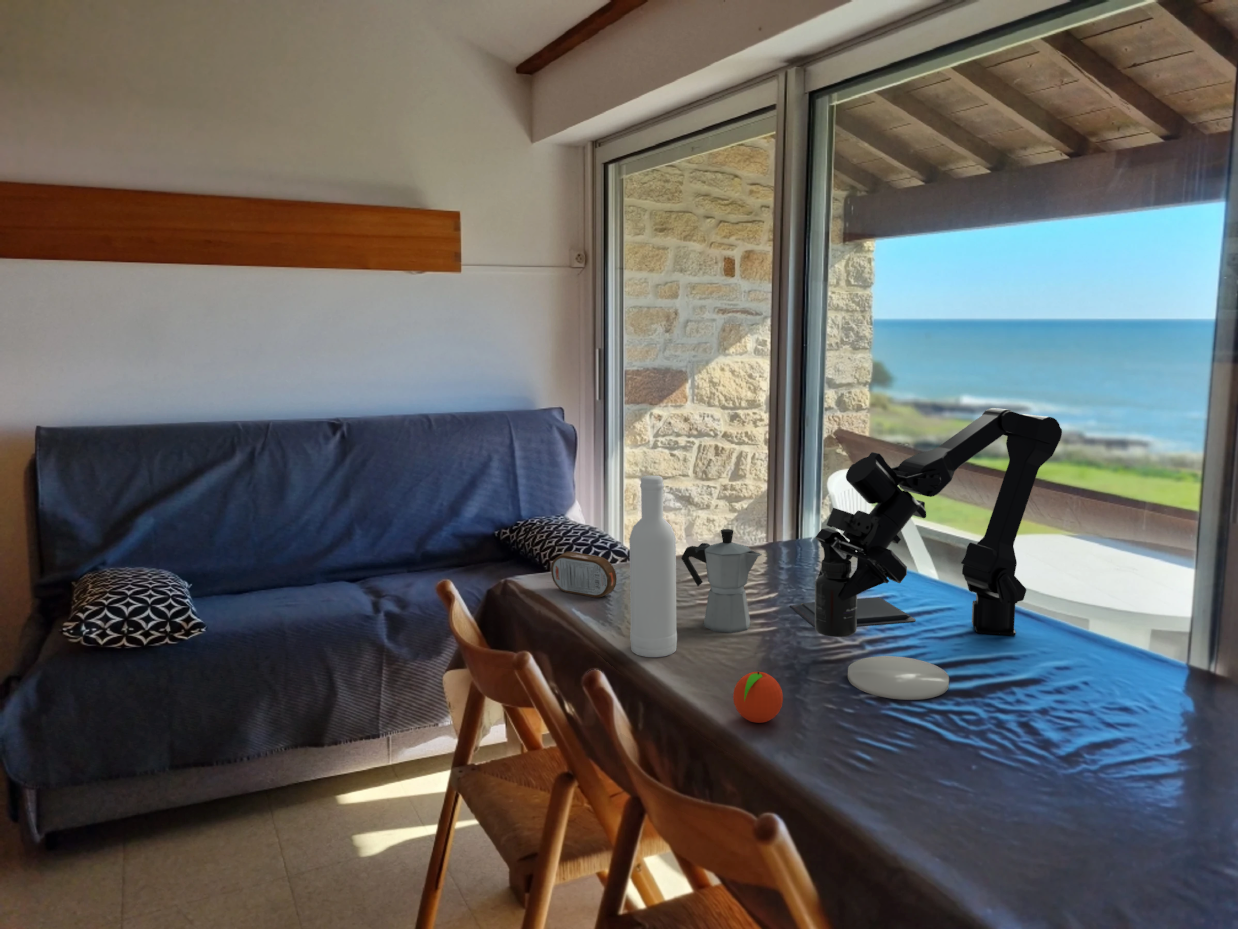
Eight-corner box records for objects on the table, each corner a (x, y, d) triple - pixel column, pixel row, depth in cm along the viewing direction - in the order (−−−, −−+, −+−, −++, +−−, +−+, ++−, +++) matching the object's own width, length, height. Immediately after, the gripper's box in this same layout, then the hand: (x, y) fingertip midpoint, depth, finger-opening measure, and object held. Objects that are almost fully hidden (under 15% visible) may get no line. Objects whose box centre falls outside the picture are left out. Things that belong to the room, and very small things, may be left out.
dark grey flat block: (816, 623, 171) (788, 599, 186) (816, 633, 171) (788, 608, 186) (920, 616, 174) (884, 592, 189) (919, 626, 174) (883, 602, 189)
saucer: (945, 667, 152) (945, 660, 151) (952, 704, 137) (952, 696, 137) (849, 660, 156) (849, 653, 155) (845, 694, 141) (846, 687, 141)
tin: (617, 597, 193) (617, 557, 192) (609, 601, 190) (608, 560, 189) (558, 587, 201) (557, 548, 200) (549, 591, 198) (548, 552, 197)
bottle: (620, 650, 162) (618, 477, 157) (651, 638, 167) (649, 471, 163) (656, 661, 156) (654, 482, 152) (686, 649, 162) (685, 476, 158)
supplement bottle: (857, 638, 153) (858, 566, 151) (814, 637, 154) (814, 565, 153) (856, 626, 160) (856, 556, 158) (814, 624, 161) (814, 555, 159)
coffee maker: (765, 621, 176) (766, 526, 174) (756, 635, 168) (757, 537, 165) (688, 614, 181) (687, 522, 179) (675, 628, 173) (675, 532, 170)
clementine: (768, 738, 127) (768, 687, 126) (721, 727, 131) (721, 678, 130) (790, 717, 134) (791, 668, 133) (745, 707, 138) (745, 660, 136)
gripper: (825, 482, 163) (769, 551, 161) (892, 500, 146) (831, 578, 144) (863, 521, 167) (809, 590, 165) (933, 544, 150) (874, 620, 148)
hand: (828, 593), depth 156 cm, fingers closed on supplement bottle, 7 cm apart
